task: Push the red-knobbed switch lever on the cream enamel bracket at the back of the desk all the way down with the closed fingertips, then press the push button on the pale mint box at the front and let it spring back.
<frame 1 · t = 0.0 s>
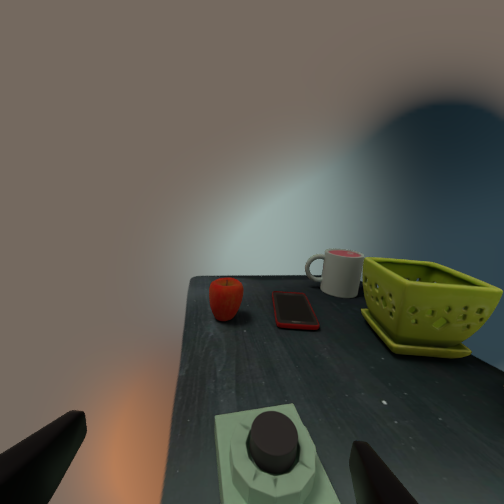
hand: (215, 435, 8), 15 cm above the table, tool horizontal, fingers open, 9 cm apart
apple: (225, 318, 45), on the table
mug: (329, 290, 63), on the table
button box: (268, 483, 20), on the table
cell phone: (292, 311, 50), on the table
push button: (273, 439, 19), point 4 cm above the table, slide at 0.1 cm
flower pot: (405, 340, 42), on the table
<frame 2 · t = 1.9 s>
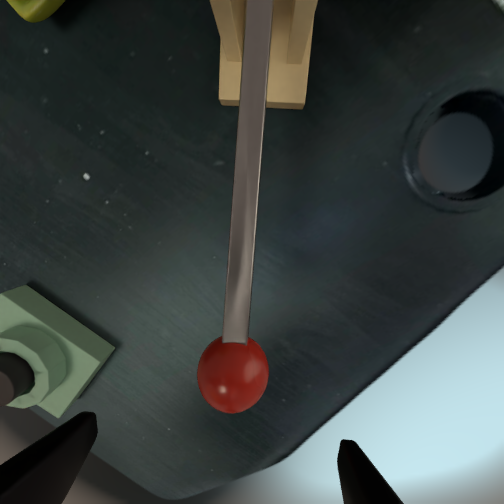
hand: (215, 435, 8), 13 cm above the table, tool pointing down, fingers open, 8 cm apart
switch bracket: (266, 36, 17), on the table
switch lever: (248, 160, 10), point 9 cm above the table, hinge at 10.0°
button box: (52, 345, 23), on the table
push button: (3, 378, 19), point 4 cm above the table, slide at 0.1 cm
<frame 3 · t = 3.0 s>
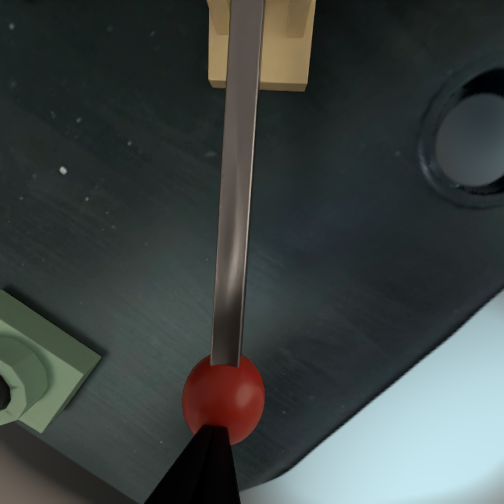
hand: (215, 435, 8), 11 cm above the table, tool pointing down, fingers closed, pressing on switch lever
switch bracket: (262, 6, 15), on the table
switch lever: (239, 148, 9), point 8 cm above the table, hinge at 8.6°, touching gripper
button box: (34, 354, 22), on the table
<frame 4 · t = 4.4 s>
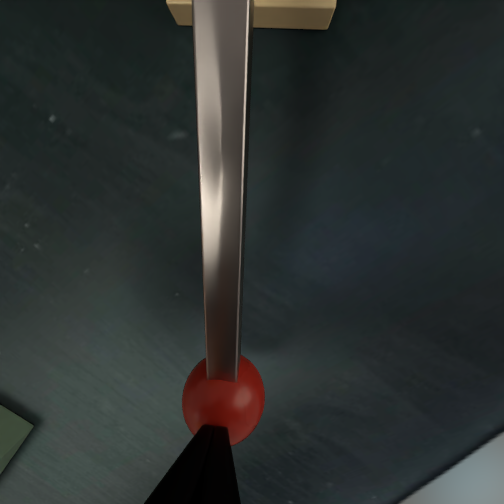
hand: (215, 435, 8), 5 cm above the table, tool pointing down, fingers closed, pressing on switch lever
switch lever: (224, 128, 6), point 5 cm above the table, hinge at -10.6°, touching gripper
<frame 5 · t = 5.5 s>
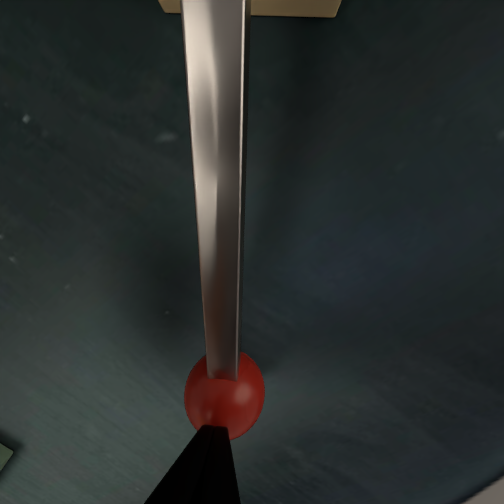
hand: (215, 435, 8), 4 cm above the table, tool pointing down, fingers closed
switch lever: (220, 131, 5), point 4 cm above the table, hinge at -15.4°
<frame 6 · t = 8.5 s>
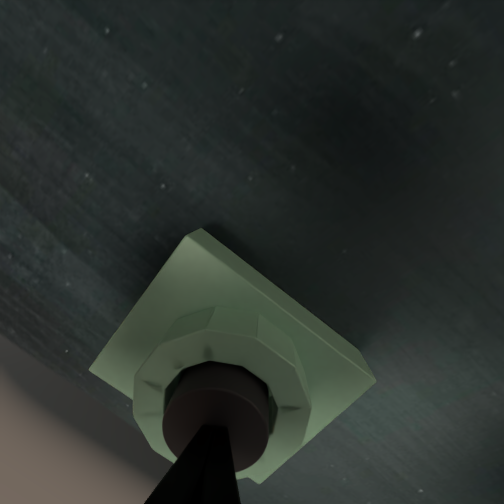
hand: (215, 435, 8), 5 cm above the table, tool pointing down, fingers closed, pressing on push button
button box: (234, 345, 13), on the table
push button: (219, 411, 9), point 4 cm above the table, slide at -0.4 cm, touching gripper
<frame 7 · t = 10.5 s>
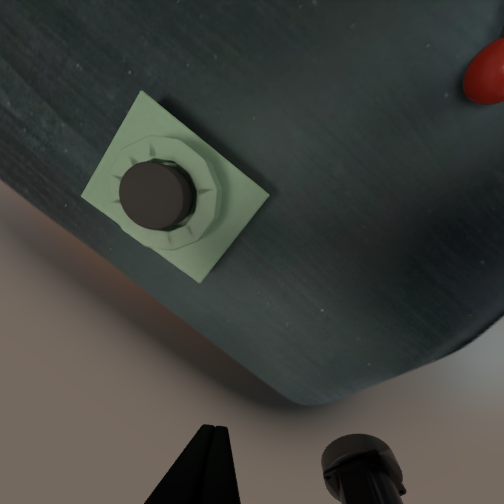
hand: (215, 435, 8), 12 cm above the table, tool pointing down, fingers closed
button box: (183, 195, 18), on the table
push button: (158, 196, 14), point 4 cm above the table, slide at 0.1 cm
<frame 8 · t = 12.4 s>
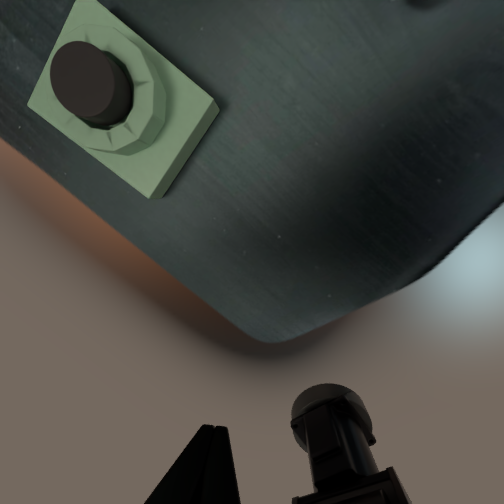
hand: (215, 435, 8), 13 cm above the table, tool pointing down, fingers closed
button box: (135, 113, 18), on the table
push button: (93, 87, 14), point 4 cm above the table, slide at 0.1 cm
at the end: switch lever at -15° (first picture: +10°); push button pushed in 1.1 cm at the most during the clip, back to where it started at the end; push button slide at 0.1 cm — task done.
